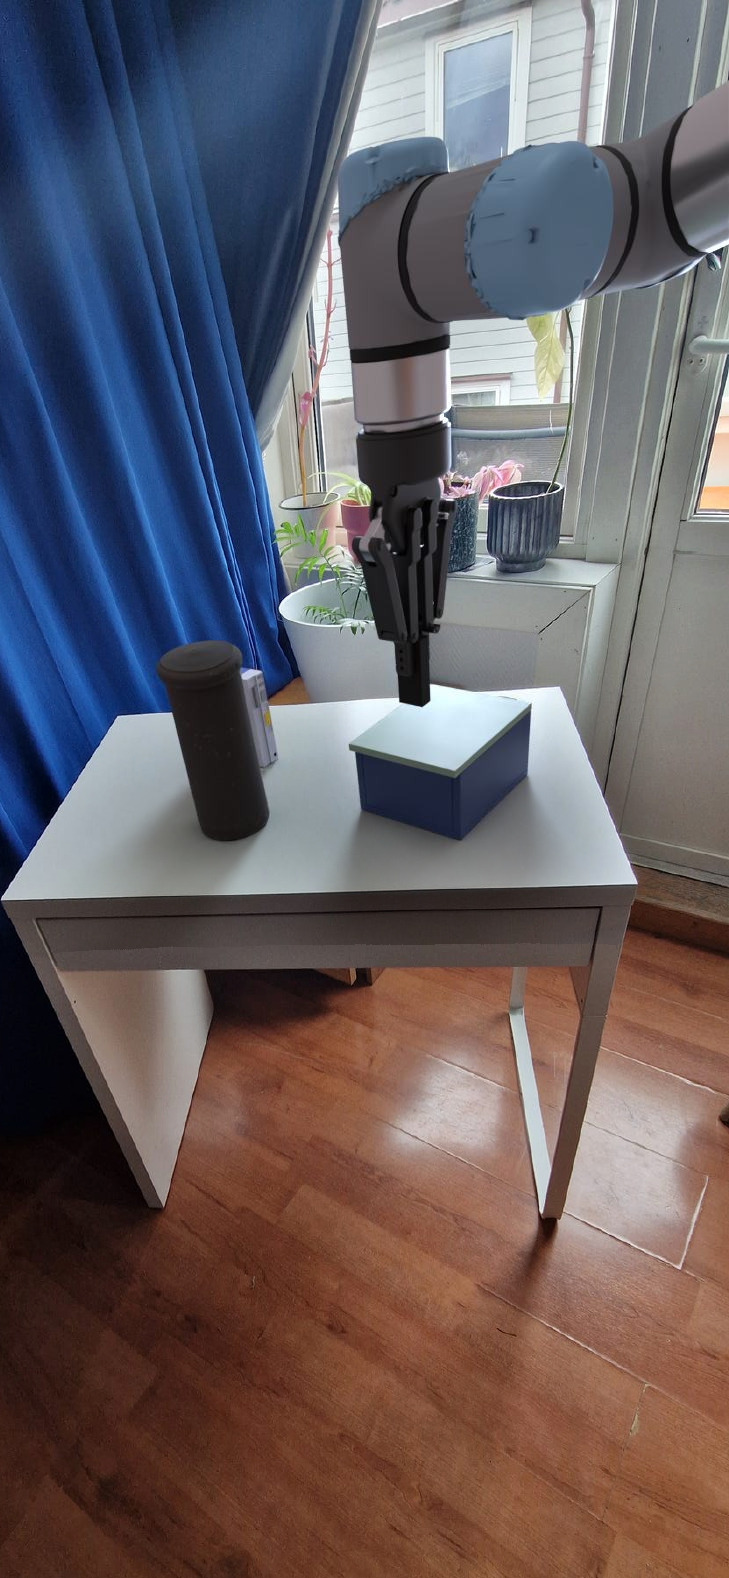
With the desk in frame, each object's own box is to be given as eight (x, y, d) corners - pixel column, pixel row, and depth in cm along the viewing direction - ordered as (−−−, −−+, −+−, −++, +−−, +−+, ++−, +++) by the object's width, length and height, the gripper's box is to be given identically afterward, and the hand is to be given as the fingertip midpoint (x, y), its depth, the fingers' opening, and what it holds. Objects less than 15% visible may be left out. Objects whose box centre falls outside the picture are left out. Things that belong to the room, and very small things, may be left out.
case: (460, 840, 78) (460, 774, 73) (360, 809, 85) (354, 746, 80) (527, 774, 86) (531, 710, 81) (431, 751, 93) (429, 690, 88)
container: (277, 797, 89) (246, 629, 76) (267, 841, 82) (230, 664, 70) (207, 801, 91) (164, 637, 78) (191, 845, 84) (142, 672, 71)
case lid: (455, 778, 72) (455, 771, 72) (349, 750, 79) (348, 743, 79) (531, 709, 81) (532, 702, 80) (429, 690, 88) (429, 683, 87)
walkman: (220, 756, 99) (199, 668, 91) (234, 746, 101) (215, 659, 93) (265, 768, 95) (247, 677, 87) (279, 758, 96) (263, 668, 89)
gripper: (408, 406, 65) (418, 670, 80) (314, 440, 58) (344, 722, 73) (486, 403, 61) (481, 681, 76) (395, 439, 54) (410, 738, 69)
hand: (414, 701), depth 74 cm, fingers closed
